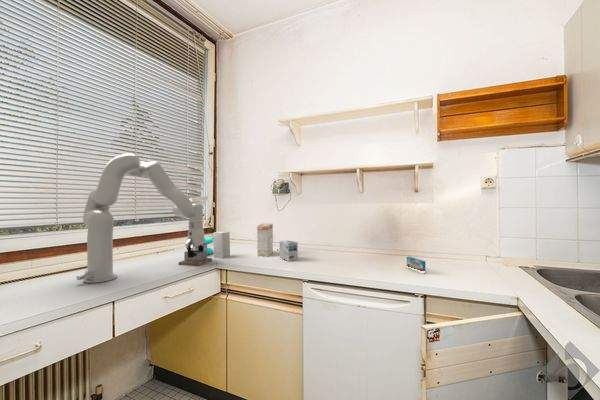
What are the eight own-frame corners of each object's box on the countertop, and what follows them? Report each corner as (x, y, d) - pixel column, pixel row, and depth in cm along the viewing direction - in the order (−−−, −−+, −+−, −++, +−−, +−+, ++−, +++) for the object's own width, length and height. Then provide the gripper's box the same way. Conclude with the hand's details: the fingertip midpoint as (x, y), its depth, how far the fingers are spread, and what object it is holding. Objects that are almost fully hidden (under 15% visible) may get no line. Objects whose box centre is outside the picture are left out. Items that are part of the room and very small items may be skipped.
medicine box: (195, 258, 179) (194, 243, 179) (192, 256, 182) (192, 242, 182) (207, 256, 184) (207, 242, 184) (204, 255, 187) (204, 241, 187)
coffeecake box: (263, 252, 198) (263, 223, 198) (273, 252, 197) (273, 223, 197) (256, 256, 183) (256, 225, 183) (267, 256, 182) (267, 225, 182)
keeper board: (197, 266, 157) (197, 256, 157) (178, 264, 160) (178, 254, 160) (212, 260, 171) (212, 251, 171) (194, 259, 174) (193, 250, 174)
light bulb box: (298, 260, 172) (298, 242, 172) (288, 261, 168) (288, 243, 168) (288, 257, 181) (288, 239, 181) (279, 258, 177) (279, 240, 177)
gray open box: (200, 261, 161) (200, 252, 161) (184, 260, 164) (184, 251, 164) (206, 259, 167) (206, 250, 167) (191, 258, 170) (191, 249, 170)
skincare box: (230, 256, 182) (230, 231, 182) (222, 258, 176) (222, 232, 176) (221, 255, 186) (220, 231, 186) (212, 257, 181) (212, 232, 181)
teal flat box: (425, 273, 142) (425, 261, 142) (422, 274, 142) (422, 261, 142) (409, 268, 154) (409, 256, 154) (406, 268, 153) (406, 256, 153)
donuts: (213, 239, 189) (196, 239, 186) (213, 254, 189) (196, 255, 186) (212, 237, 198) (197, 237, 195) (212, 251, 198) (197, 252, 196)
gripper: (192, 227, 156) (192, 259, 156) (210, 224, 173) (210, 253, 173) (180, 226, 158) (180, 258, 158) (198, 223, 175) (198, 252, 175)
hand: (195, 255), depth 165 cm, fingers open, 9 cm apart
